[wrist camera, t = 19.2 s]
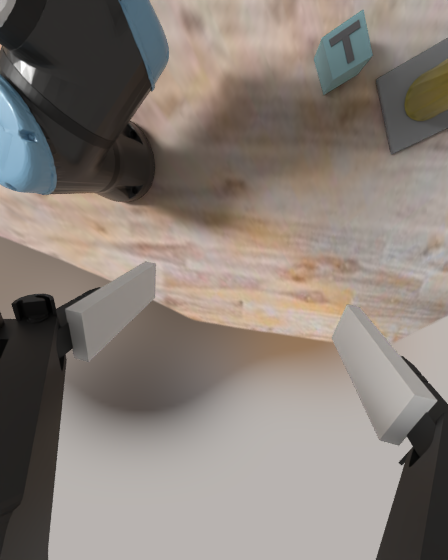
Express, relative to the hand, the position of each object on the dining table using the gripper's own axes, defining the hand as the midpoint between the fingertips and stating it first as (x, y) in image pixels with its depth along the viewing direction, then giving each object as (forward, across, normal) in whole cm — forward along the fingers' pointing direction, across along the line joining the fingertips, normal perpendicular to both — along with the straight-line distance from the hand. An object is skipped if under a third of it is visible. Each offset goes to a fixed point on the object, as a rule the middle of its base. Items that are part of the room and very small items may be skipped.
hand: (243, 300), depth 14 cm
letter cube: (+32, +7, +26) cm, 42 cm away
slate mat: (+32, +21, +24) cm, 45 cm away
